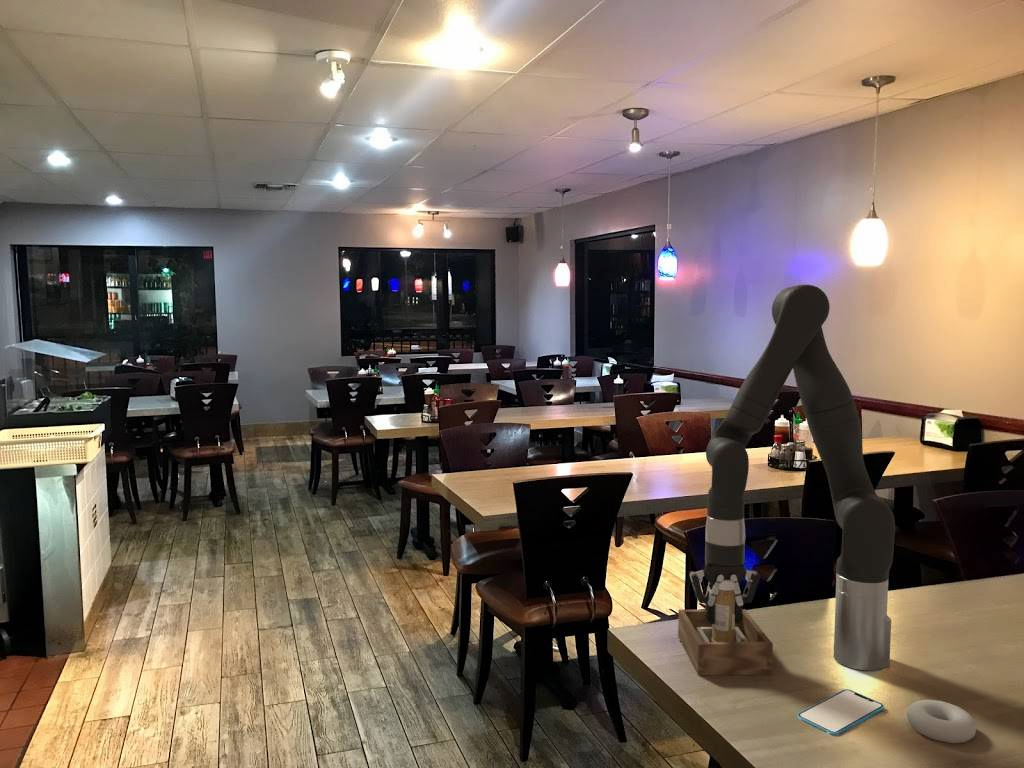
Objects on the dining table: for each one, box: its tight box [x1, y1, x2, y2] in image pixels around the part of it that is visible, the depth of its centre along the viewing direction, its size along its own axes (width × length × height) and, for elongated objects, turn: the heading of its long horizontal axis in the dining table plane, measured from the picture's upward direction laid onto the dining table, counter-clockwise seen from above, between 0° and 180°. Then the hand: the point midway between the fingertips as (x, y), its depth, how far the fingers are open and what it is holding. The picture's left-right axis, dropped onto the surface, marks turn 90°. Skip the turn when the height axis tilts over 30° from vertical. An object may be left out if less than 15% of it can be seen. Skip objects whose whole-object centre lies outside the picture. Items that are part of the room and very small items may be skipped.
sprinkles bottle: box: [712, 580, 736, 642], centre depth 153 cm, size 5×5×14 cm
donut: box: [906, 699, 977, 744], centre depth 126 cm, size 10×4×10 cm
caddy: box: [677, 608, 774, 676], centre depth 154 cm, size 14×17×6 cm
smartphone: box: [796, 688, 885, 737], centre depth 131 cm, size 8×1×15 cm
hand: (723, 621), depth 153 cm, fingers closed on sprinkles bottle, 4 cm apart
